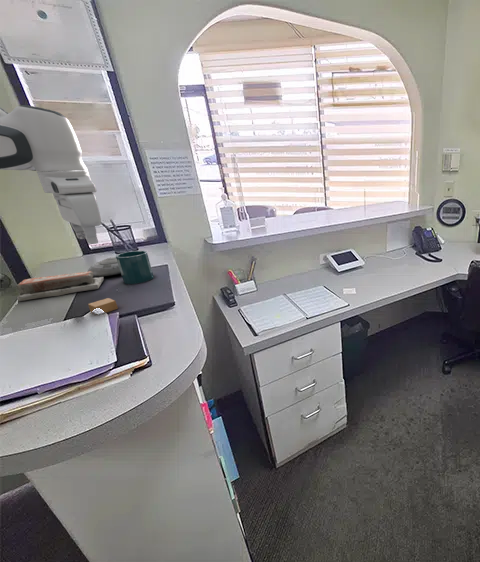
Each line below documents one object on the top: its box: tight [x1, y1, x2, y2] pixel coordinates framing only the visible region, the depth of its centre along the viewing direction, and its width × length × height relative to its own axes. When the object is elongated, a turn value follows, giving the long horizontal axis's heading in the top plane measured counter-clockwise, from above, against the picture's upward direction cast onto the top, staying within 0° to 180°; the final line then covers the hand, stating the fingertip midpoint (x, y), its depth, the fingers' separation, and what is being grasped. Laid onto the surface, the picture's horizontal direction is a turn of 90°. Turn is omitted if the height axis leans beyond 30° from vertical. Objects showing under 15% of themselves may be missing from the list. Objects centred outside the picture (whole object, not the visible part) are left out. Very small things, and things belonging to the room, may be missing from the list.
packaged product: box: [16, 271, 105, 302], centre depth 95 cm, size 18×5×10 cm
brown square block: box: [87, 297, 119, 314], centre depth 82 cm, size 4×4×2 cm
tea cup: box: [115, 250, 155, 285], centre depth 103 cm, size 8×8×9 cm
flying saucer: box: [86, 256, 121, 277], centre depth 110 cm, size 15×15×6 cm
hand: (88, 240), depth 78 cm, fingers open, 8 cm apart
